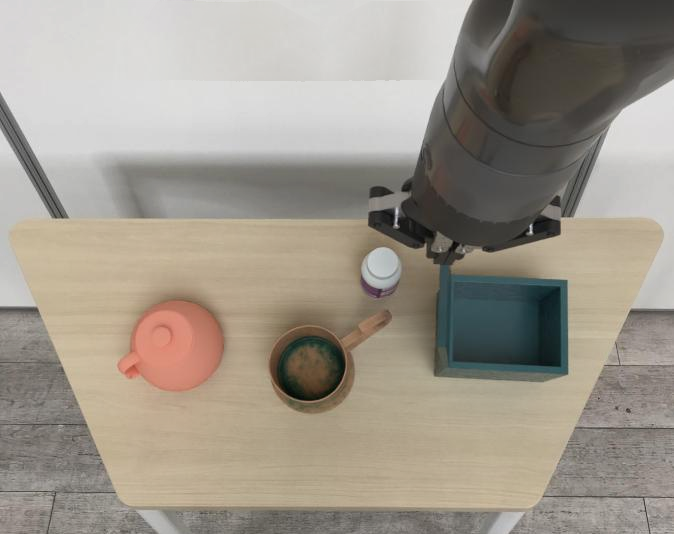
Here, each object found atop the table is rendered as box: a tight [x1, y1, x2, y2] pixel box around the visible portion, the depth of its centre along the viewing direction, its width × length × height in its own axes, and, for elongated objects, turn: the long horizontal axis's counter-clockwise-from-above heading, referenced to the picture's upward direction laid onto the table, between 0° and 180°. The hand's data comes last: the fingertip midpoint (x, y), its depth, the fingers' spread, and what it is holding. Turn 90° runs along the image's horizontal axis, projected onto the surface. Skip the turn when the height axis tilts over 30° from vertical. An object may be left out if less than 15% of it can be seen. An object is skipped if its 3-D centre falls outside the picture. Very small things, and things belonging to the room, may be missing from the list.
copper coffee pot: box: [267, 308, 393, 415], centre depth 79 cm, size 12×18×12 cm, turn 121°
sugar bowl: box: [116, 300, 224, 393], centre depth 80 cm, size 12×14×10 cm
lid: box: [438, 265, 452, 368], centre depth 67 cm, size 16×12×1 cm
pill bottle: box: [359, 246, 403, 301], centre depth 81 cm, size 5×5×10 cm
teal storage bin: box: [433, 273, 569, 383], centre depth 80 cm, size 15×12×10 cm
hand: (442, 252), depth 48 cm, fingers closed
